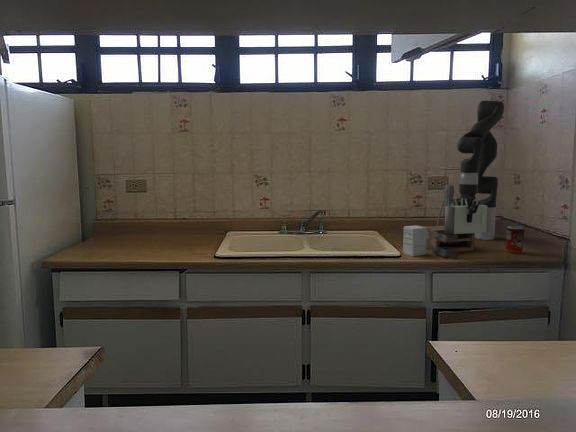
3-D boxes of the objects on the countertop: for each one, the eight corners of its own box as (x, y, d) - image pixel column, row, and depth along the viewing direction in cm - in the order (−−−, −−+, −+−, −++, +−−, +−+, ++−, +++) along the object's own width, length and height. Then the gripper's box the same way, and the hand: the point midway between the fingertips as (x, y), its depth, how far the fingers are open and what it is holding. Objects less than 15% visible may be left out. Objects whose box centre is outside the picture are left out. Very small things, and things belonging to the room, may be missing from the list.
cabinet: (419, 248, 214) (419, 226, 213) (459, 245, 220) (460, 224, 218) (444, 258, 194) (446, 234, 193) (488, 255, 200) (489, 232, 198)
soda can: (513, 254, 201) (515, 227, 199) (502, 251, 207) (503, 225, 206) (526, 253, 203) (528, 227, 201) (514, 250, 209) (516, 224, 208)
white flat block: (442, 233, 198) (443, 206, 196) (481, 231, 203) (482, 204, 201) (448, 234, 194) (449, 207, 192) (487, 232, 198) (489, 205, 197)
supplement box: (415, 251, 207) (416, 225, 205) (426, 255, 200) (427, 227, 198) (402, 253, 204) (403, 226, 203) (412, 256, 198) (413, 228, 196)
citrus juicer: (447, 246, 220) (450, 185, 216) (429, 243, 227) (431, 184, 223) (458, 242, 227) (461, 184, 223) (440, 240, 235) (443, 183, 231)
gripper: (486, 183, 190) (484, 223, 192) (465, 182, 203) (463, 219, 206) (471, 184, 188) (469, 224, 191) (451, 182, 202) (449, 220, 204)
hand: (466, 221), depth 198 cm, fingers closed on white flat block, 3 cm apart
